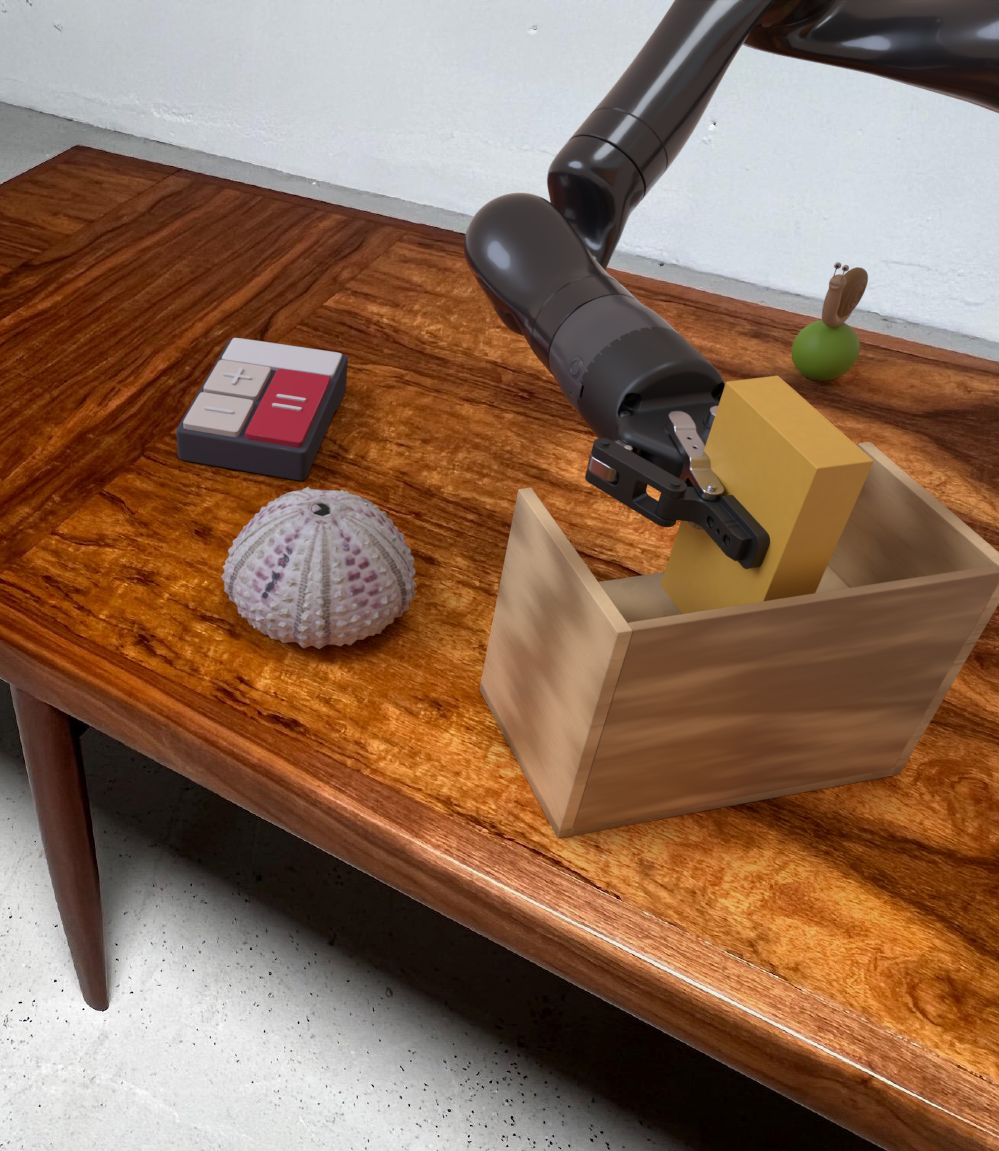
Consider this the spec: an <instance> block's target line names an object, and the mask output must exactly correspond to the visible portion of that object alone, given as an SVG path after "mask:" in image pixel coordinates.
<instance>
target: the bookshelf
mask: <svg viewBox="0 0 999 1151" xmlns="http://www.w3.org/2000/svg"><path fill="white" fill-rule="evenodd" d="M857 446H858V447H859V448H860V449H861V450H862V451H864V452H865V453H866V454H867V455H868V456H869V457H870V458H872V459H873V460H874V462H873V464H872V467H871V469H870V471H869V473H868V476H867V478H866V480H865V482H864V485H863V487H862V489H861V491H860V494H859V496H858V498H857V500H856V503H855V505H854V507H853V509H852V512H851V514H850V516H849V518H848V521H847V523H846V525H845V527H844V530H843V532H842V534H841V536H840V539H839V541H838V543H837V545H836V548H835V550H834V552H833V554H832V557H831V559H830V561H829V563H828V565H827V568H826V570H825V572H824V574H823V577H822V579H821V581H820V583H819V586H818V588H817V590H816V592H815V593H814V594H808V595H801V596H795V597H788V598H782V599H776V600H769V601H763V602H757V603H750V604H744V605H737V606H731V607H725V608H718V609H712V610H706V611H699V612H693V613H686V614H682V613H681V612H680V611H679V609H678V608H677V607H676V605H675V604H674V603H673V601H672V600H671V599H670V597H669V596H668V595H667V593H666V592H665V591H664V590H663V588H662V587H661V585H660V584H661V581H662V578H663V575H664V572H665V571H663V572H656V573H650V574H642V575H636V576H635V575H634V576H630V577H623V578H615V579H609V580H603V581H602V580H601V581H598V579H597V578H596V576H595V575H594V573H593V572H592V571H591V569H590V568H589V566H588V565H587V563H586V562H585V561H584V559H583V558H582V557H581V556H580V554H579V553H578V551H577V549H576V548H575V547H574V545H573V544H572V543H571V541H570V539H569V538H568V537H567V535H566V534H565V532H564V531H563V530H562V529H561V527H560V525H559V524H558V523H557V522H556V520H555V519H554V517H553V516H552V514H551V513H550V512H549V510H548V509H547V508H546V506H545V505H544V503H543V502H542V501H541V499H540V497H539V496H538V495H537V493H536V492H535V491H534V489H533V488H532V487H524V488H518V489H517V494H516V499H515V504H514V509H513V514H512V520H511V524H510V531H509V534H508V535H509V536H508V540H507V546H506V550H505V556H504V561H503V566H502V570H501V571H502V572H501V576H500V580H499V587H498V593H497V597H496V603H495V606H494V612H493V618H492V622H491V628H490V632H489V638H488V643H487V649H486V654H485V659H484V664H483V669H482V673H481V674H482V675H481V679H480V683H479V692H480V694H481V695H482V697H483V699H484V701H485V703H486V705H487V707H488V709H489V710H490V712H491V714H492V716H493V718H494V720H495V723H496V724H497V726H498V728H499V729H500V731H501V734H502V735H503V737H504V739H505V741H506V743H507V744H508V746H509V749H510V751H511V753H512V754H513V757H514V758H515V760H516V762H517V764H518V765H519V768H520V769H521V772H522V774H523V776H524V777H525V779H526V781H527V782H528V785H529V786H530V789H531V790H532V792H533V794H534V796H535V798H536V800H537V803H538V804H539V805H540V808H541V810H542V812H543V813H544V816H545V817H546V819H547V821H548V823H549V825H550V827H551V828H552V831H553V833H554V835H555V836H556V838H557V839H560V838H565V837H570V836H577V835H582V834H587V833H592V832H599V831H604V830H609V829H613V828H614V829H615V828H618V827H625V826H630V825H636V824H640V823H647V822H652V821H657V820H663V819H668V818H673V817H678V816H683V815H690V814H695V813H699V812H704V811H710V810H714V809H715V810H716V809H721V808H727V807H732V806H737V805H743V804H747V803H752V802H759V801H764V800H769V799H775V798H779V797H786V796H790V795H796V794H802V793H806V792H807V793H808V792H813V791H818V790H822V789H823V790H824V789H827V788H833V787H838V786H839V787H840V786H843V785H844V786H845V785H850V784H854V783H860V782H865V781H871V780H876V779H881V778H886V777H892V776H898V775H900V774H901V773H902V772H903V771H904V769H905V767H906V764H908V761H909V760H910V757H911V756H912V754H913V752H914V751H915V749H916V747H917V746H918V743H919V742H920V741H921V739H922V738H923V735H924V734H925V732H926V730H927V729H928V727H929V726H930V724H931V722H932V720H933V718H934V716H935V715H936V713H937V711H938V710H939V707H940V706H941V704H942V703H943V701H944V699H945V698H946V696H947V695H948V692H949V691H950V689H951V687H952V685H953V684H954V682H955V680H956V678H957V677H958V675H959V673H960V671H961V670H962V668H963V666H964V664H965V663H966V662H967V659H968V658H969V656H970V654H971V652H973V649H974V647H975V646H976V644H977V642H978V640H979V639H980V637H981V635H983V634H982V633H983V632H984V630H985V628H986V627H987V625H988V623H989V622H990V620H991V618H992V617H993V615H994V613H995V612H996V610H997V608H998V606H999V551H998V550H997V549H996V548H994V547H993V546H992V545H991V544H990V543H988V542H987V541H986V540H985V539H984V538H983V537H981V535H979V534H978V533H977V532H976V531H974V529H972V528H971V527H970V526H969V525H967V523H965V522H964V521H963V520H962V519H960V518H959V516H957V515H956V514H955V513H954V512H953V511H951V510H950V509H949V508H948V507H947V506H946V505H945V504H943V503H942V502H941V501H940V500H939V499H938V498H936V497H935V496H934V495H933V494H931V493H930V492H929V491H928V490H927V489H926V488H924V487H923V486H922V485H921V484H920V483H919V482H917V481H916V480H915V479H914V478H913V477H912V476H911V475H910V474H908V473H907V472H905V470H903V468H901V467H900V466H899V465H897V463H895V462H894V461H893V460H892V459H891V458H889V457H888V456H887V455H886V454H885V453H884V452H882V451H881V449H879V448H878V447H876V446H875V445H874V444H873V443H872V442H871V441H866V442H865V441H864V442H858V444H857Z"/></svg>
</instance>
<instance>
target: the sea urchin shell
mask: <svg viewBox="0 0 999 1151" xmlns="http://www.w3.org/2000/svg"><path fill="white" fill-rule="evenodd" d="M404 536H405V533H403V532H400V531H399V530H398V527H397V526H396V525H394V522H393V519H392V518H389V517H388V516H387V512H386V511H383V510H382V511H381V510H380V509H379V506H378V505H375V504H374V503H373V501H371V500H368V499H366V498H363V497H361V496H360V495H358V494H354V493H351V492H349V491H347V490H345V491H344V489H341V490H334V489H333V490H329V489H313V488H310V487H309V486H307V487H305V488H302V489H301V490H300V489H299V490H293V491H290V492H287V493H285V494H282V495H280V496H279V497H276V498H275V499H274V500H271V501H268V503H267V505H266V506H261V507H260V510H259V512H257V513H255V514H254V516H253V517H252V518H251V519H250V520H249V522H248V523H247V524H245V525H244V526H243V528H242V530H241V531H240V532H239V534H238V535H237V536H236V538H234V539H233V540H232V546H230V547H229V548H228V550H227V552H228V556H227V558H226V560H225V561H224V563H225V564H224V565H222V568H223V570H224V572H223V573H222V575H221V576H220V578H221V579H222V581H223V582H224V583H223V587H224V590H223V591H224V592H225V593H226V594H227V595H228V600H229V601H231V602H232V603H234V605H236V607H237V613H238V614H239V615H241V618H243V619H245V620H247V622H248V624H249V626H252V627H253V629H254V630H255V629H256V630H258V631H259V632H260V633H261V634H263V635H264V636H269V638H270V639H271V640H275V641H276V640H279V641H280V642H281V643H283V644H287V643H296V644H298V645H299V646H300V647H301V648H302V649H306V648H308V647H311V646H312V647H314V648H316V649H318V650H320V649H322V648H324V647H326V646H327V645H335V646H338V647H342V646H344V645H348V646H352V645H353V644H354V643H355V642H356V641H357V640H358V641H359V640H363V641H364V640H365V639H366V638H367V637H369V636H371V637H373V636H375V635H376V634H378V635H381V634H382V631H383V630H385V628H386V627H387V626H388V625H391V624H393V623H394V621H395V618H401V617H403V614H404V612H406V611H409V610H410V604H412V600H413V598H414V597H415V596H417V592H416V591H415V587H416V585H417V583H416V582H415V580H414V577H415V574H416V572H417V571H416V569H415V567H414V564H415V557H414V556H413V555H412V552H411V551H412V549H411V548H409V547H408V545H407V542H406V540H405V539H404V538H405V537H404Z"/></svg>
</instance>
